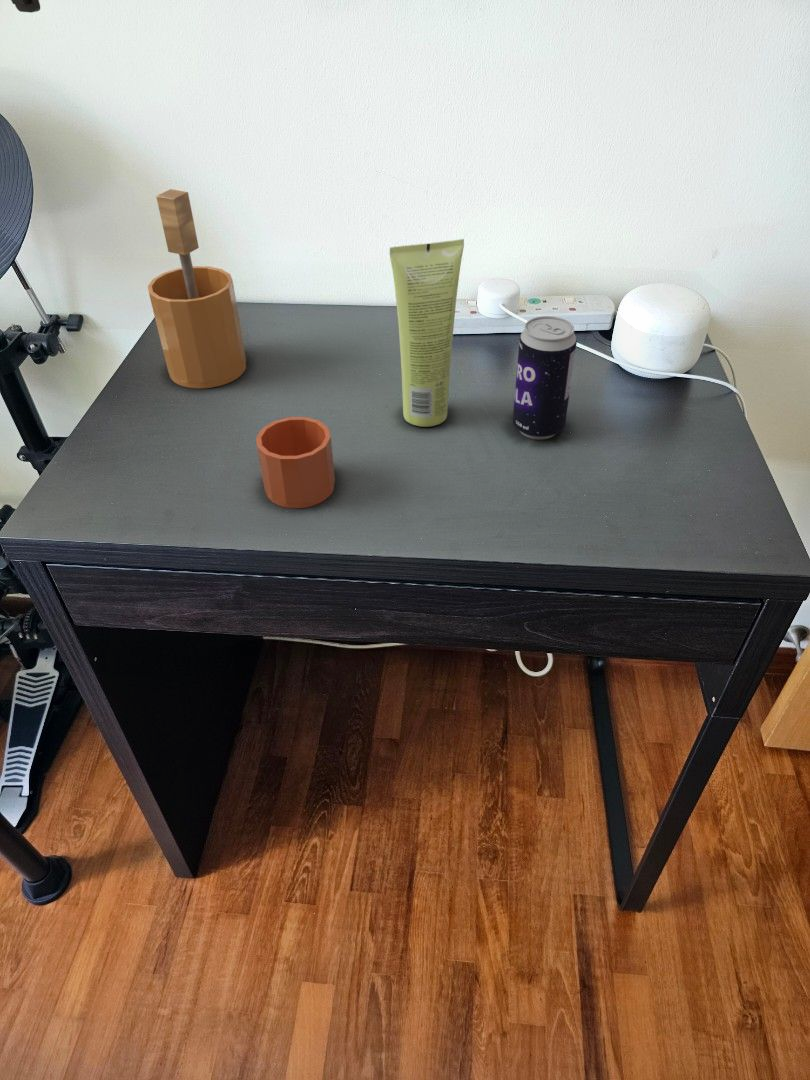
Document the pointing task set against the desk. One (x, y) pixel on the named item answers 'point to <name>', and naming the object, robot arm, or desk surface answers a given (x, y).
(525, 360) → the beverage can
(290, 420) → the cup
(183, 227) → the brush
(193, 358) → the orange pen cup
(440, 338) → the tube
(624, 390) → the desk surface
